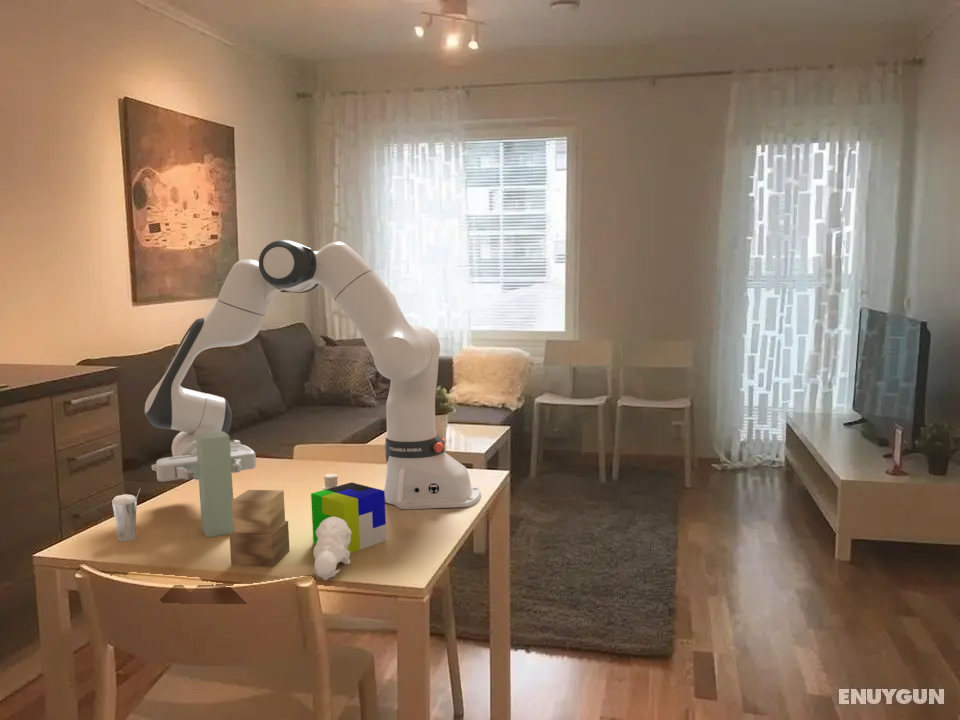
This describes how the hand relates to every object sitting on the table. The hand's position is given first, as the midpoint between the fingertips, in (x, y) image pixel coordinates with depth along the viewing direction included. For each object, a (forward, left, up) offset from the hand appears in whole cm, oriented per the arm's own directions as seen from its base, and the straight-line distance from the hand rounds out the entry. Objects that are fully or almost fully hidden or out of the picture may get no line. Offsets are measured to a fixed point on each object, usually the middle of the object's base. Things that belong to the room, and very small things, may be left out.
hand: (213, 472), depth 170 cm
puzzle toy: (-30, +6, -12) cm, 33 cm away
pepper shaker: (-24, -2, -12) cm, 27 cm away
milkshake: (+15, +8, -12) cm, 21 cm away
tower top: (-16, +16, -6) cm, 23 cm away
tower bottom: (-16, +16, -12) cm, 26 cm away
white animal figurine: (-31, +21, -12) cm, 39 cm away
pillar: (-1, +2, -12) cm, 12 cm away
